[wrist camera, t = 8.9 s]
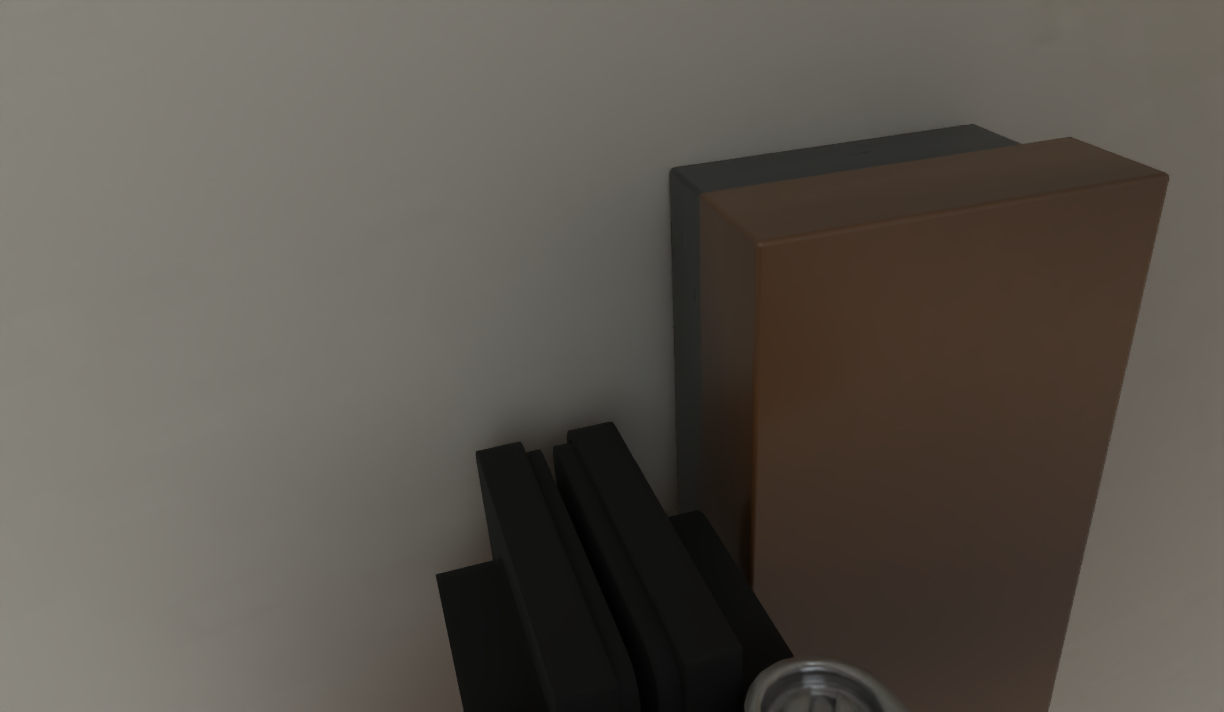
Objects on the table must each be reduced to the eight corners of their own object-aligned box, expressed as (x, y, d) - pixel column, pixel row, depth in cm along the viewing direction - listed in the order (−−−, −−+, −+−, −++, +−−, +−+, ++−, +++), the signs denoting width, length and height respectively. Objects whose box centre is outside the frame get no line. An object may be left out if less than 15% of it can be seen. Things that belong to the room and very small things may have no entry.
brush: (651, 151, 11) (756, 242, 9) (991, 104, 12) (1173, 172, 10) (670, 702, 16) (745, 869, 13) (920, 633, 17) (1035, 777, 14)
